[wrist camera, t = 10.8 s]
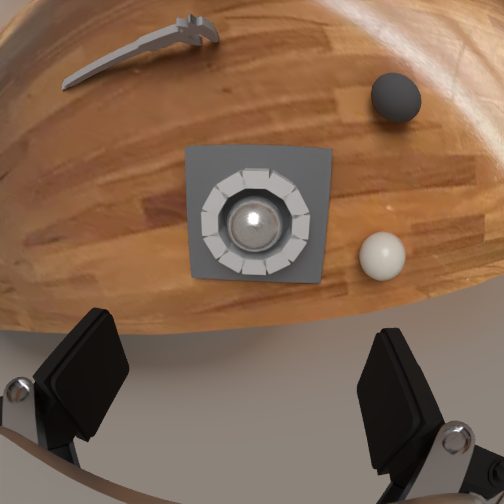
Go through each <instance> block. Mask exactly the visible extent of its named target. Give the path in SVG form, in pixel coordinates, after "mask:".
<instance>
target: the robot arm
mask: <svg viewBox="0 0 504 504" xmlns="http://www.w3.org/2000/svg"><path fill="white" fill-rule="evenodd" d="M128 373H129V364H128V361H127V359H126V356H125V353H124V350H123V347H122V344H121V341H120V338H119V335H118V332H117V329H116V326H115V322H114V319H113V316H112V315H111V314H110V313H109V311H108V310H106V309H100V308H92V309H91V310H90V311H89V312H88V313H87V314H86V315H85V316H84V317H83V319H82V320H81V321H80V322H79V323H78V324H77V325H76V326H75V327H74V328H73V329H72V331H71V332H70V333H69V334H68V335H67V336H66V338H64V340H63V341H62V342H61V343H60V344H59V346H57V348H56V349H55V350H54V351H53V352H52V353H51V354H50V356H49V357H48V358H47V359H46V360H45V362H44V363H43V364H42V365H41V366H40V368H39V369H38V370H37V371H36V373H35V374H34V375H33V378H34V380H35V383H34V384H33V383H32V381H31V380H30V379H28V378H26V377H17V378H15V379H13V380H12V381H10V382H9V383H8V384H7V385H6V388H5V389H4V394H3V396H1V397H0V504H180V503H175V502H171V501H168V500H164V499H160V498H156V497H153V496H150V495H147V494H143V493H140V492H137V491H134V490H132V489H129V488H126V487H123V486H121V485H118V484H115V483H112V482H110V481H108V480H105V479H103V478H101V477H98V476H96V475H94V474H92V473H90V472H87V471H85V470H83V469H81V468H80V464H79V461H78V457H77V453H76V450H75V446H74V442H73V438H74V437H75V436H76V437H77V438H79V439H82V440H84V441H86V442H88V441H89V439H90V437H93V436H94V435H95V434H96V432H97V430H98V428H99V426H100V424H101V423H102V421H103V419H104V417H105V415H106V413H107V411H108V409H109V407H110V406H111V404H112V402H113V400H114V398H115V397H116V395H117V393H118V391H119V389H120V387H121V386H122V384H123V382H124V380H125V379H126V377H127V375H128ZM357 395H358V399H359V404H360V408H361V413H362V417H363V422H364V427H365V432H366V436H367V441H368V447H369V452H370V458H371V463H372V467H373V468H374V469H377V473H378V475H383V474H388V473H389V474H390V480H391V482H390V484H389V485H388V487H387V488H386V490H385V492H384V493H383V494H382V496H381V497H380V499H379V500H378V502H377V503H376V504H504V457H502V456H500V455H498V454H495V453H493V452H491V451H488V450H486V449H484V448H482V447H479V446H477V445H475V436H474V433H473V431H472V429H471V428H470V427H469V426H468V425H467V424H465V423H463V422H460V421H450V422H448V423H445V422H444V419H443V417H442V414H441V412H440V410H439V407H438V405H437V403H436V400H435V398H434V396H433V394H432V391H431V389H430V387H429V385H428V383H427V380H426V378H425V376H424V374H423V372H422V370H421V368H420V366H419V365H418V364H417V362H416V360H415V358H414V356H413V354H412V352H411V350H410V348H409V346H408V344H407V342H406V340H405V338H404V336H403V335H402V333H401V331H400V329H399V328H383V329H382V330H381V332H380V333H377V334H376V336H375V339H374V342H373V345H372V348H371V350H370V353H369V356H368V359H367V362H366V364H365V367H364V369H363V372H362V374H361V377H360V380H359V382H358V385H357Z"/></svg>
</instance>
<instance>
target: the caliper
mask: <svg viewBox="0 0 504 504" xmlns="http://www.w3.org/2000/svg"><path fill="white" fill-rule="evenodd" d="M198 34H201V35H203V36H204V37H206V38H208V39H210V40H211V41H213V42H214V43H216V42H218V41H219V39H218V32H217V30H216V28H215V26H214V24H213V23H212V22H210V21H209V20H207V19H206V18H204V17H203V16H201V17H197V18H196V17H194V16H193V15H191V14H188V20H187V19H183V18H176V24H173V25H170V26H168V27H165V28H162V29H160V30H157V31H154V32H152V33H149V34H147V35H145V36H142V37H140V38H138V41H135V42H133V43H131V44H129V45H126V46H124V47H122V48H120V49H118V50H116V51H114V52H112V53H110V54H108V55H106V56H104V57H102V58H100V59H98V60H96V61H95V62H93V63H91V64H89V65H87V66H86V67H84V68H82V69H81V70H79V71H77V72H76V73H74V74H72V75H71V76H69V77H68V78H66V79H65V80H64V82H63V83H62V91H63V90H65V89H67V88H68V87H72V86H74V85H76V84H78V83H80V82H82V81H84V80H85V79H87V78H89V77H91V76H93V75H95V74H97V73H98V72H100V71H102V70H104V69H106V68H108V67H110V66H113V65H115V64H117V63H119V62H121V61H124V60H126V59H128V58H130V57H133V56H135V55H138V54H140V53H143V52H145V51H152V52H154V51H156V50H158V49H161V48H165V47H167V46H169V45H171V44H172V43H175V42H178V41H179V42H183V43H188V44H192V45H196V46H200V45H202V37H200V36H199V35H198Z"/></svg>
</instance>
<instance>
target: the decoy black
mask: <svg viewBox="0 0 504 504" xmlns="http://www.w3.org/2000/svg"><path fill="white" fill-rule="evenodd" d="M371 97H372V101H373V104H374V106H375V108H376V109H377V111H378V112H379V113H380V114H381V115H382V116H383V117H385V118H386V119H388V120H391V121H394V122H406V121H409V120H411V119H413V118H414V117H415V116H416V115H417V114H418V112H419V110H420V107H421V95H420V92H419V90H418V88H417V86H416V85H415V84H414V83H413V82H412V81H411V80H410V79H409V78H407V77H406V76H404V75H401V74H398V73H387V74H384V75H382V76H380V77H379V78H378V79H377V80H376V81H375V82H374V84H373V86H372V91H371Z"/></svg>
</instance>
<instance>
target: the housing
mask: <svg viewBox="0 0 504 504" xmlns="http://www.w3.org/2000/svg"><path fill="white" fill-rule="evenodd" d="M331 165H332V149H325V148H313V147H298V146H277V145H203V146H185V170H186V200H187V221H188V237H189V251H190V264H191V276H192V278H205V279H223V280H244V281H267V282H296V283H320V281H321V274H322V266H323V258H324V249H325V240H326V230H327V220H328V209H329V196H330V182H331ZM248 196H261V197H264V198H267V199H269V200H270V201H272V202H273V203H274V204H275V205H276V206H277V207H278V209H279V210H280V212H281V215H282V218H283V229H282V233H281V236H280V238H279V239H278V241H277V242H276V243H275V244H274V245H273V246H272V247H270V248H269V249H267V250H264V251H260V252H249V251H246V250H243V249H241V248H240V247H238V246H237V245H236V244H235V243H234V242H233V241H232V240H231V238H230V236H229V234H228V231H227V217H228V214H229V212H230V210H231V208H232V207H233V206H234V204H235V203H237V202H238V201H239V200H241V199H243V198H245V197H248Z"/></svg>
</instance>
